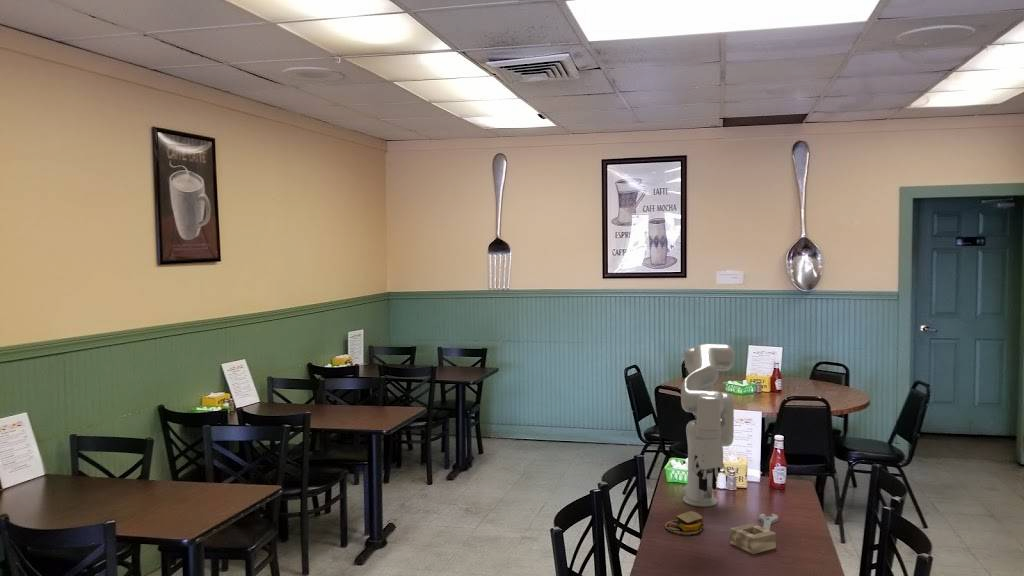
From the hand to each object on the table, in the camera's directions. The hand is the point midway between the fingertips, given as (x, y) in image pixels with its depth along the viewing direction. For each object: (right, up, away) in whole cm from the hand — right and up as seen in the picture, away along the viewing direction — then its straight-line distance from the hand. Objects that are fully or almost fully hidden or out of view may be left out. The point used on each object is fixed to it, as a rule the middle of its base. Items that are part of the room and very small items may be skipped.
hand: (707, 488), depth 247 cm
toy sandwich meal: (-4, -19, +17) cm, 25 cm away
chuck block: (+15, -19, +2) cm, 25 cm away
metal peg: (0, -3, 0) cm, 3 cm away
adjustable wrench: (+25, -19, +18) cm, 36 cm away
